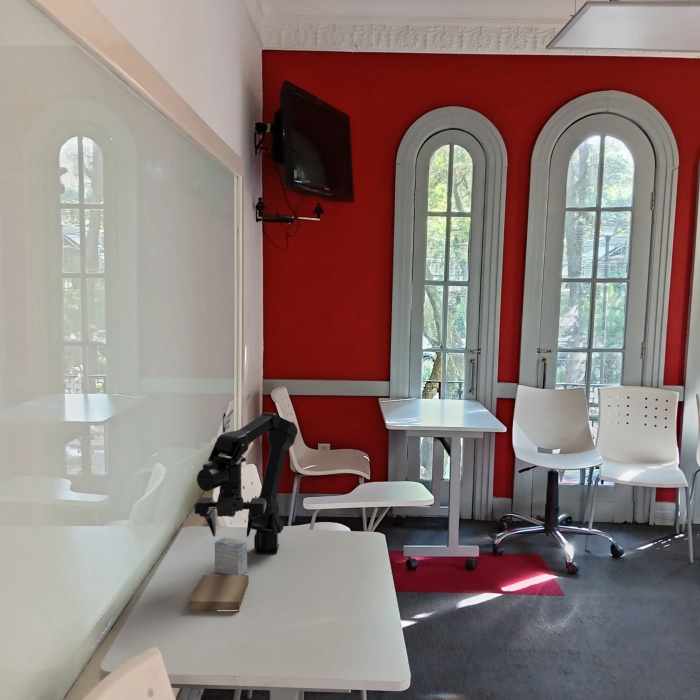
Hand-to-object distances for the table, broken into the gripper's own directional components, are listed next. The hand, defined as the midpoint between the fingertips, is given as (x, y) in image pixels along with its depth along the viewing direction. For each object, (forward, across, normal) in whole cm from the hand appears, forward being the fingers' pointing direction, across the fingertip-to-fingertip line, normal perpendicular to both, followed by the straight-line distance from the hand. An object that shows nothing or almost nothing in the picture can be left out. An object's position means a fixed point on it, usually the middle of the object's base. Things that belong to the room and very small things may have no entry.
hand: (231, 536), depth 165 cm
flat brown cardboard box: (+11, 0, -14) cm, 18 cm away
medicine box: (+10, 0, 0) cm, 10 cm away
